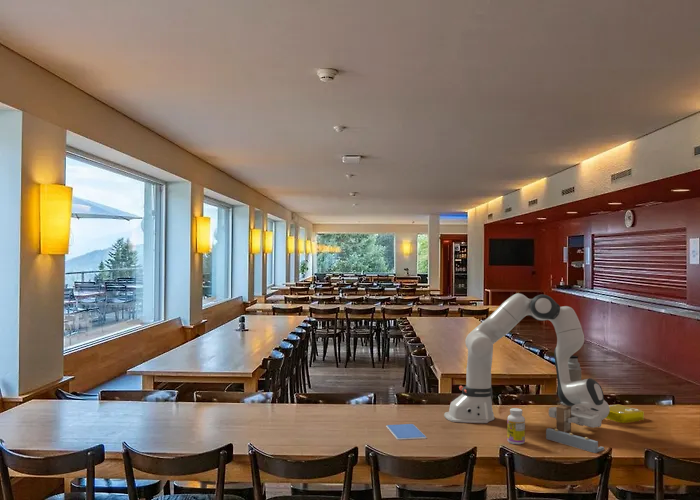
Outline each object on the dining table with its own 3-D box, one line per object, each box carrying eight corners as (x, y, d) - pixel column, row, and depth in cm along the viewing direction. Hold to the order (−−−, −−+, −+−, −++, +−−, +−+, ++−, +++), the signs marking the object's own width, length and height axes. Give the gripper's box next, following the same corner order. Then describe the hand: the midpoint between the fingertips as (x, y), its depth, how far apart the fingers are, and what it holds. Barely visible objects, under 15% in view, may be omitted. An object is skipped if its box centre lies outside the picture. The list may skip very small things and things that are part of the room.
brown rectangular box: (563, 436, 226) (563, 408, 226) (556, 434, 228) (556, 406, 228) (570, 433, 229) (570, 406, 229) (564, 432, 231) (564, 404, 232)
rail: (595, 453, 211) (595, 440, 211) (546, 438, 228) (546, 427, 228) (604, 450, 215) (604, 437, 215) (555, 436, 232) (555, 424, 232)
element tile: (618, 413, 272) (618, 402, 272) (646, 421, 258) (645, 410, 258) (595, 415, 266) (595, 405, 266) (622, 424, 252) (622, 413, 252)
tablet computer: (427, 440, 227) (427, 436, 227) (397, 441, 224) (397, 438, 224) (413, 426, 246) (413, 423, 246) (385, 427, 243) (385, 424, 243)
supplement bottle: (504, 439, 226) (504, 407, 227) (520, 439, 227) (521, 407, 227) (510, 445, 220) (511, 411, 220) (527, 444, 220) (527, 411, 221)
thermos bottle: (561, 413, 268) (561, 354, 269) (578, 414, 267) (579, 354, 267) (565, 417, 260) (565, 356, 261) (583, 418, 259) (583, 357, 260)
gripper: (559, 401, 245) (540, 406, 237) (604, 411, 228) (585, 417, 220) (559, 416, 245) (540, 421, 236) (604, 427, 228) (585, 433, 220)
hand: (562, 419), depth 228 cm, fingers closed on brown rectangular box, 3 cm apart
